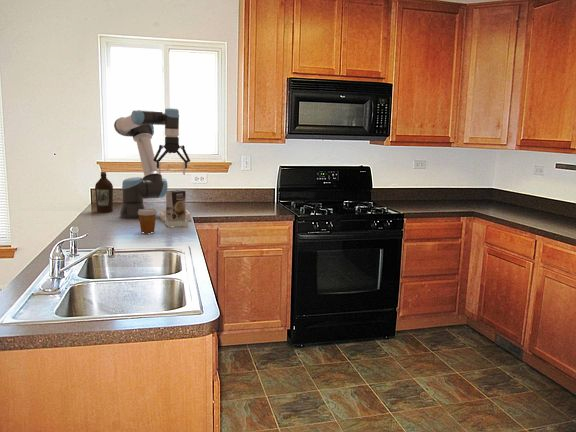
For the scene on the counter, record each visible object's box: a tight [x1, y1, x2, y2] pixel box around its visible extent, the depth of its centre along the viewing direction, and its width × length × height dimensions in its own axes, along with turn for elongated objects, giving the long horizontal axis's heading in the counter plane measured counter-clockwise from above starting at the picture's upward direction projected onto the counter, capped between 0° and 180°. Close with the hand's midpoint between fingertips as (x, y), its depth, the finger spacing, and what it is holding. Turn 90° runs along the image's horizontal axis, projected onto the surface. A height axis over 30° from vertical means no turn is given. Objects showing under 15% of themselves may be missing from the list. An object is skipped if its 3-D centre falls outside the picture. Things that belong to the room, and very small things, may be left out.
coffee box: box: [165, 190, 187, 221], centre depth 276 cm, size 9×6×16 cm
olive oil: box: [94, 171, 114, 213], centre depth 312 cm, size 11×11×25 cm
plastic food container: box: [158, 209, 192, 222], centre depth 296 cm, size 16×17×4 cm
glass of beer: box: [138, 208, 158, 233], centre depth 254 cm, size 10×10×12 cm
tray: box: [164, 218, 189, 228], centre depth 278 cm, size 11×14×3 cm
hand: (171, 174), depth 282 cm, fingers open, 13 cm apart
